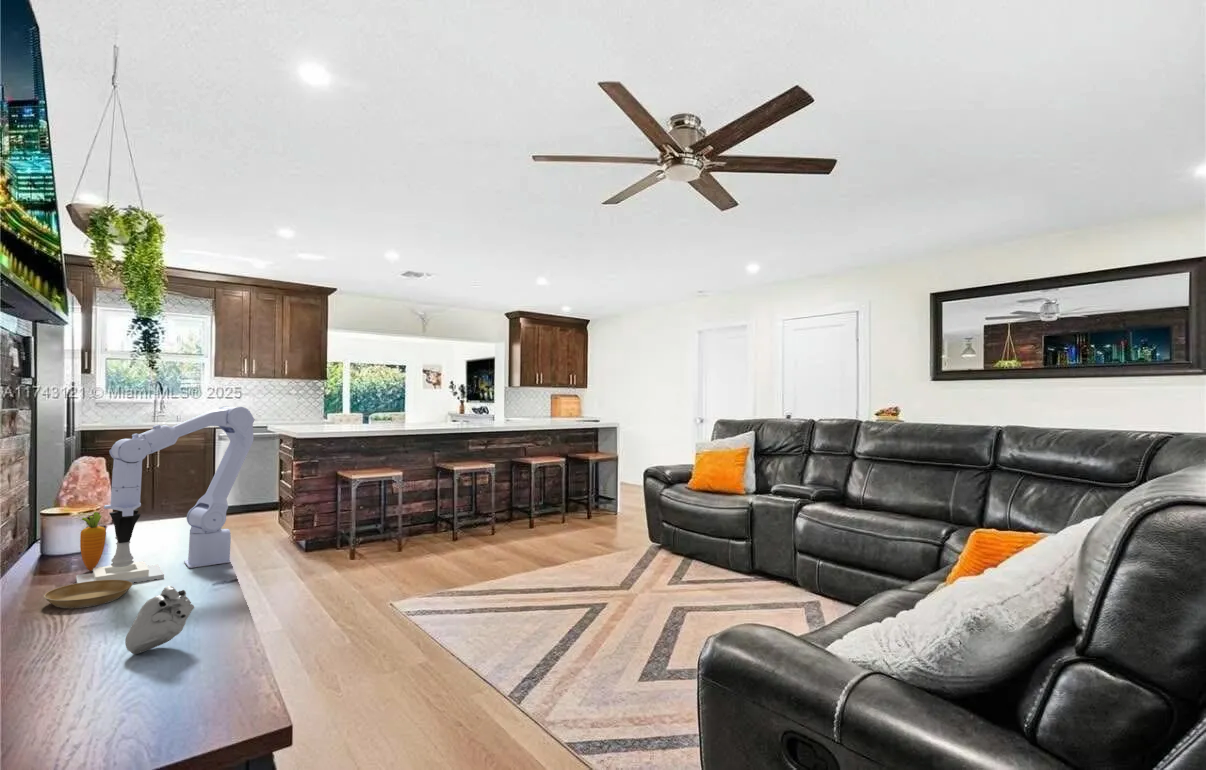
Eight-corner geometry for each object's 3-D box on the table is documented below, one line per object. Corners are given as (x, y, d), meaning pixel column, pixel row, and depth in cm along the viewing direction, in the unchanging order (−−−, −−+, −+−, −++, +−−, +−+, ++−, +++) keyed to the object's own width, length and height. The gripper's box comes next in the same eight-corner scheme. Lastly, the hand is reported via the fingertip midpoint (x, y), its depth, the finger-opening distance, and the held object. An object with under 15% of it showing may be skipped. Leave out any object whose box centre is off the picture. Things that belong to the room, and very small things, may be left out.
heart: (184, 630, 111) (174, 571, 110) (205, 642, 106) (195, 580, 104) (119, 657, 103) (108, 594, 101) (138, 672, 97) (126, 605, 96)
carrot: (91, 573, 146) (95, 515, 146) (72, 573, 146) (76, 514, 146) (108, 568, 151) (112, 511, 151) (90, 567, 151) (94, 510, 151)
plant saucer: (128, 586, 138) (129, 575, 138) (135, 602, 127) (135, 590, 127) (43, 599, 127) (43, 587, 127) (42, 617, 117) (43, 604, 117)
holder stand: (157, 567, 152) (158, 558, 152) (163, 578, 144) (164, 568, 144) (76, 579, 141) (76, 569, 141) (77, 591, 132) (78, 580, 133)
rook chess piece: (138, 563, 144) (139, 531, 145) (120, 568, 140) (121, 535, 140) (124, 561, 145) (125, 530, 145) (105, 566, 141) (107, 534, 141)
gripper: (103, 484, 146) (100, 537, 145) (107, 491, 135) (104, 549, 135) (138, 482, 151) (135, 534, 150) (145, 489, 140) (142, 544, 140)
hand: (123, 541), depth 143 cm, fingers closed on rook chess piece, 3 cm apart
